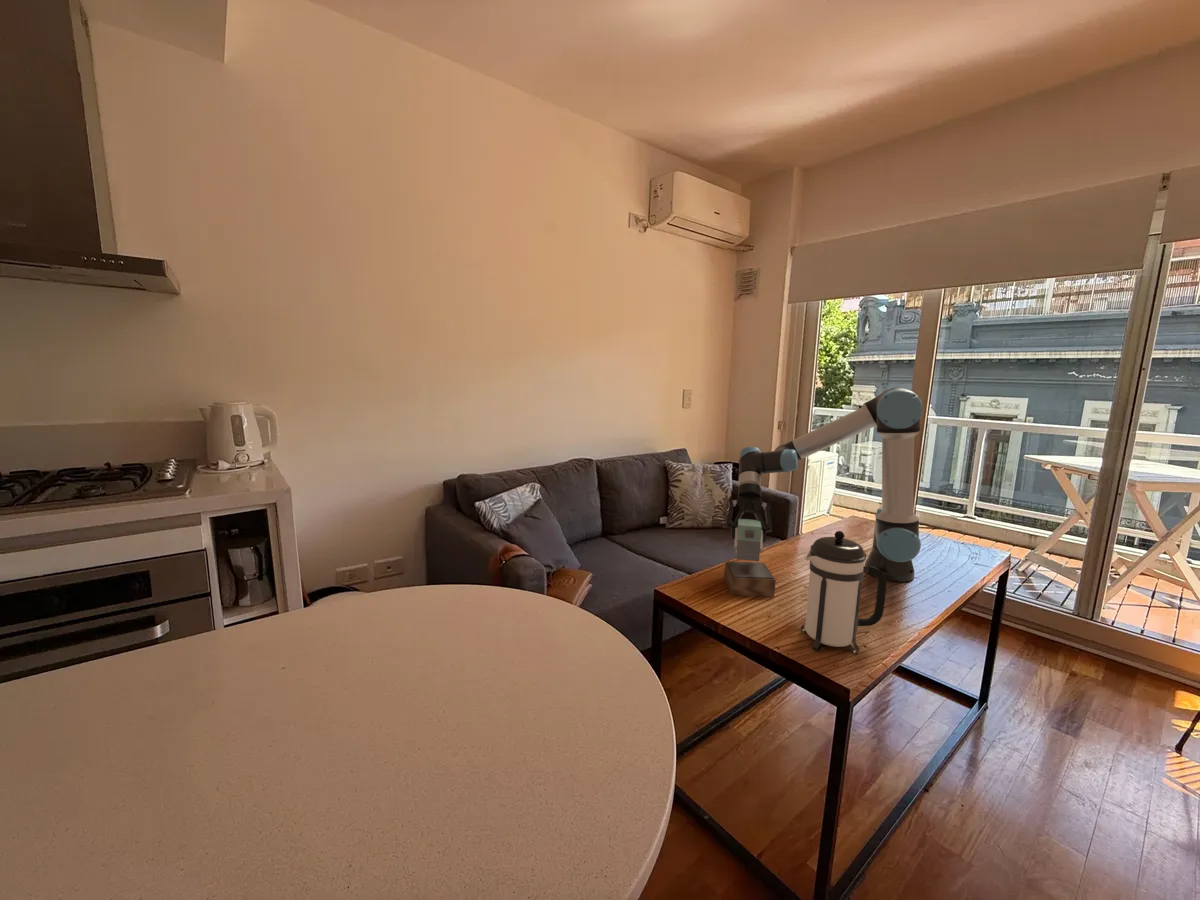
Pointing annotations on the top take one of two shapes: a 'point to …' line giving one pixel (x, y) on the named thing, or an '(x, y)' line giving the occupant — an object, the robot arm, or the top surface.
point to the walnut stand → (749, 579)
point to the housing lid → (749, 530)
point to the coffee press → (838, 592)
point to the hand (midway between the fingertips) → (748, 549)
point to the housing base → (748, 550)
